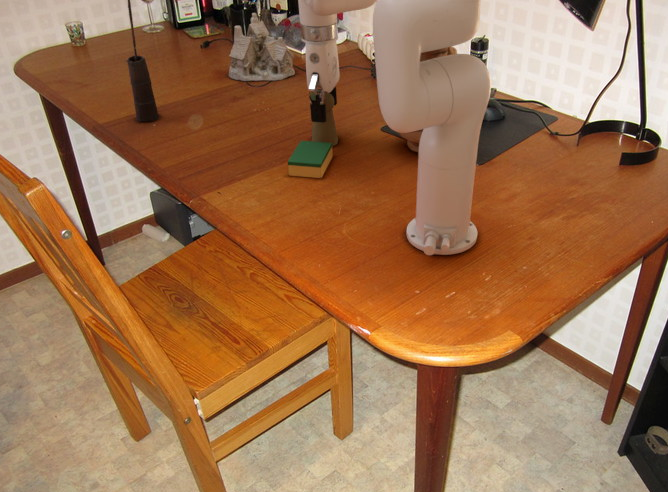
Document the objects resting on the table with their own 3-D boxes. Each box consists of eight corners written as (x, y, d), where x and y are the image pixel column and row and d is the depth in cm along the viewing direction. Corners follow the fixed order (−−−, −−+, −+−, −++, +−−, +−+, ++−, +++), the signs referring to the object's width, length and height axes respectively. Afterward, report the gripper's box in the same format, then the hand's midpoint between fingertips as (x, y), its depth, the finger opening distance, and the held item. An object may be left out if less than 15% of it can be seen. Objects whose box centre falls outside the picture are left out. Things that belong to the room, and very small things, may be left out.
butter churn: (135, 131, 151) (103, 4, 134) (118, 119, 157) (85, -5, 139) (171, 121, 156) (144, -4, 138) (154, 109, 161) (126, -12, 144)
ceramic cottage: (221, 72, 180) (216, 16, 171) (269, 61, 189) (267, 7, 179) (253, 91, 172) (250, 33, 162) (302, 78, 181) (302, 22, 171)
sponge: (321, 178, 133) (320, 164, 131) (288, 175, 134) (287, 161, 132) (332, 156, 140) (332, 142, 138) (301, 154, 141) (300, 140, 139)
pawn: (306, 144, 145) (302, 96, 138) (320, 134, 149) (317, 87, 142) (329, 149, 143) (326, 101, 136) (343, 139, 147) (341, 91, 140)
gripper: (326, 45, 124) (331, 129, 134) (346, 20, 137) (349, 99, 147) (289, 43, 125) (297, 127, 135) (312, 19, 138) (317, 97, 149)
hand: (324, 112), depth 141 cm, fingers open, 9 cm apart
